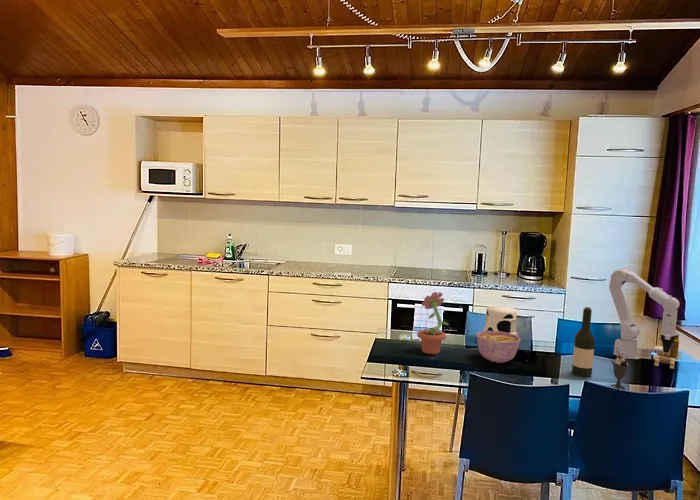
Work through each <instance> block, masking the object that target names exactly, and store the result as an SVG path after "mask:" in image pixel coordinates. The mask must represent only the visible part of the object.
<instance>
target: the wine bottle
mask: <svg viewBox="0 0 700 500" xmlns="http://www.w3.org/2000/svg"><path fill="white" fill-rule="evenodd" d="M582 310H583V311H582V321H581V328H580V329H579V330H578V332H577V333H576V334H575V335H574V341H573V342H574V346H573V355H572V364H571V365H572V367H571V375H573V376H576V377H578V378H585V379H588V378H592V374H593V373H592V372H593V365H594V354H595V342H596V339H595V337H594V335H593V333H592V331H591V322H592V307H587V306H586V307H584V308H583V309H582Z"/></svg>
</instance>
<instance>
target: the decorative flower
mask: <svg viewBox="0 0 700 500" xmlns="http://www.w3.org/2000/svg"><path fill="white" fill-rule="evenodd" d="M443 295H444V294H443V293H442V292H437V291H435V292H432V293H430V295H426V296H425V298H424V299H423V301H422V302H421V306H422V307H424V308H425V309H426V310H431V309H433V311H434V312H433V313H430V315H429V316H428V317H427V318H428V319H432V318H434V316H435V317H436V319H437V325H436V326H432V327H430V328H429V329H423V330H419V331H417V334H416V335H417V337H418V338H420V341H421V351H422V352H423V353H424V354H427V355H428V354H429V355H438V354H439V353H441V347H442V341H444V340H446V339H447V334H446V333H445V332H443V331H442V330H441V331H440V330H439V329H441V327H442V325H444V326H449V325H450V324H449V323H448V322H446V321H443V320H442V318H441V315H440V313H439V310H438V307H440V306H441V305H442V304H443V302H444V301H445V299H444V297H443ZM441 297H442V298H441Z"/></svg>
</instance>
